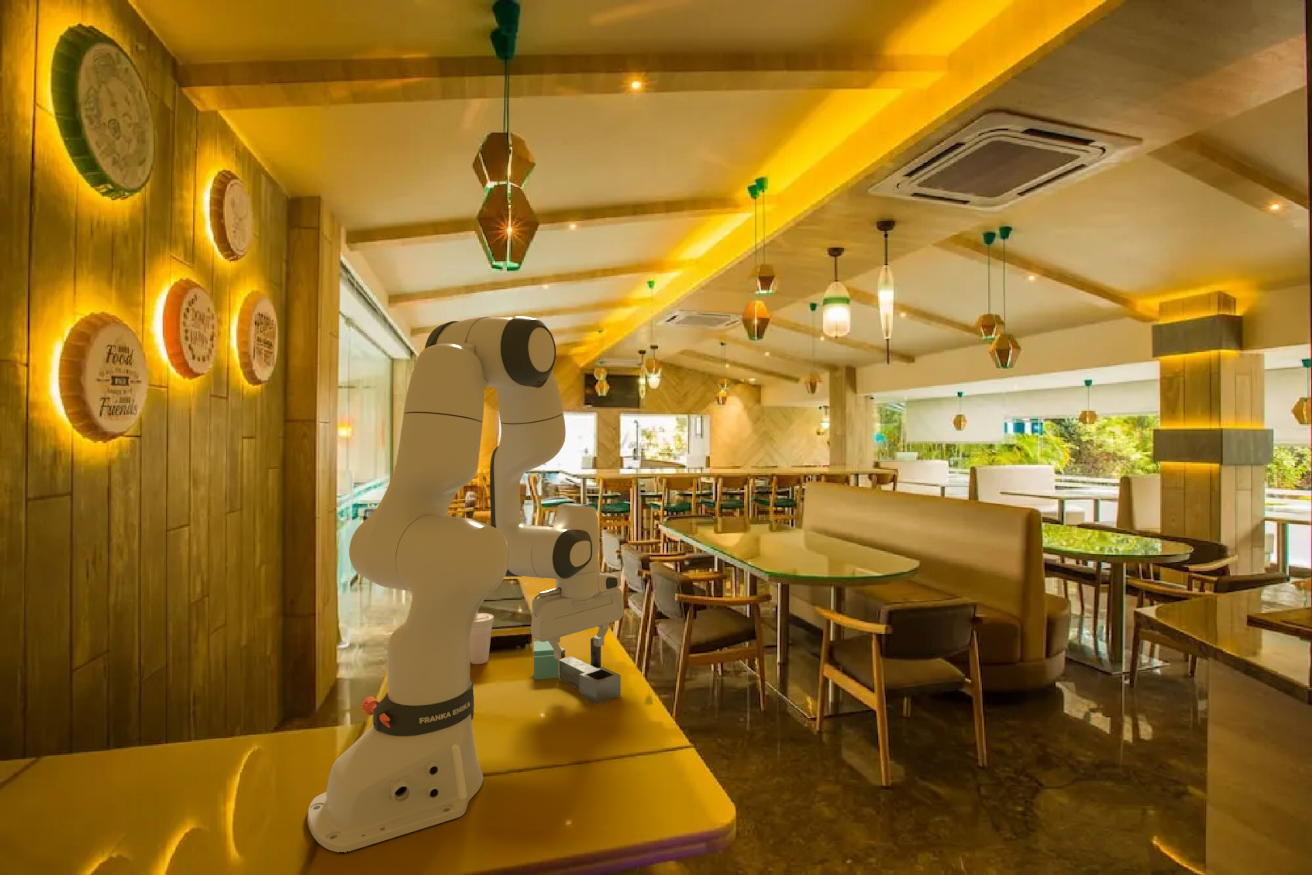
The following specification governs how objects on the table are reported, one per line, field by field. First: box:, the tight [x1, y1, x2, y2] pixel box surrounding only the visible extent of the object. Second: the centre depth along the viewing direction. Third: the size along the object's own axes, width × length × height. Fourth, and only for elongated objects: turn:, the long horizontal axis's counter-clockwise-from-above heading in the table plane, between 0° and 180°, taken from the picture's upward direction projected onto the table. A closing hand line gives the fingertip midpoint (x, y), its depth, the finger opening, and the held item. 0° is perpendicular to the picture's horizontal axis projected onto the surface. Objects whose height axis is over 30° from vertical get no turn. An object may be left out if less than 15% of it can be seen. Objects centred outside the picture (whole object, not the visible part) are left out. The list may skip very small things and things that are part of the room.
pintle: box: [590, 637, 602, 669], centre depth 135 cm, size 2×2×6 cm
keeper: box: [533, 640, 560, 680], centre depth 132 cm, size 5×7×5 cm
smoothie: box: [470, 610, 495, 665], centre depth 139 cm, size 6×6×14 cm
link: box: [559, 655, 622, 705], centre depth 124 cm, size 15×6×4 cm, turn 42°
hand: (579, 651), depth 126 cm, fingers open, 8 cm apart
